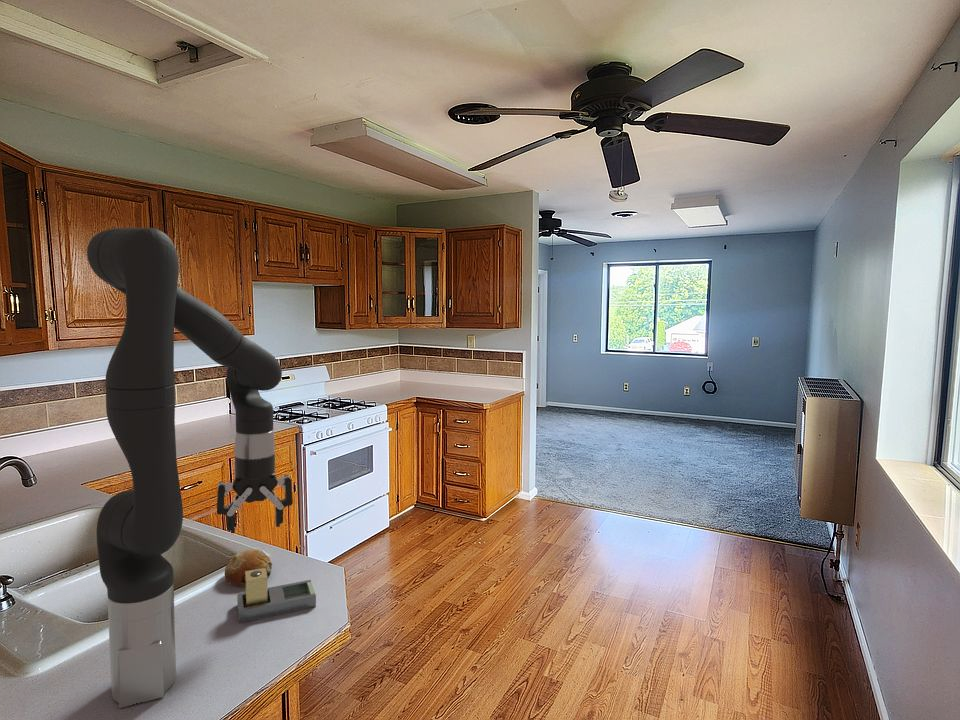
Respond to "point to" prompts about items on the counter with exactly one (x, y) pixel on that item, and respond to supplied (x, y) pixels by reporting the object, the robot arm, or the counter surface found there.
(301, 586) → the grey block holder
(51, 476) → the counter surface
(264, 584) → the tall beige wooden block
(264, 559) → the bread roll
